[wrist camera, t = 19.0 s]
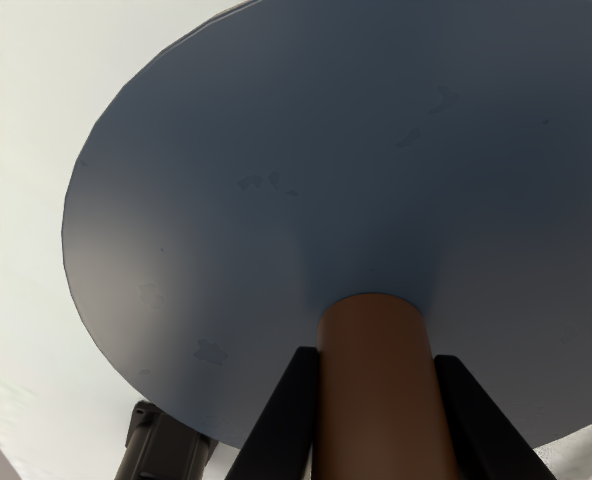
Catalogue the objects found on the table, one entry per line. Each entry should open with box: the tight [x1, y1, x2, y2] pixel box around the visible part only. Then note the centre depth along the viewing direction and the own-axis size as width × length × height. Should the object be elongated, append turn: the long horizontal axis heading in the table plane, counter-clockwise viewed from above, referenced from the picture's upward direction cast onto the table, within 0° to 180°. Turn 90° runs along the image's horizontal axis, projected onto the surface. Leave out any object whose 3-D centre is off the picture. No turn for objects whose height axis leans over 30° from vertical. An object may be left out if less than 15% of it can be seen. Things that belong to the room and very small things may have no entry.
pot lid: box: [61, 0, 592, 480], centre depth 8 cm, size 14×14×6 cm
